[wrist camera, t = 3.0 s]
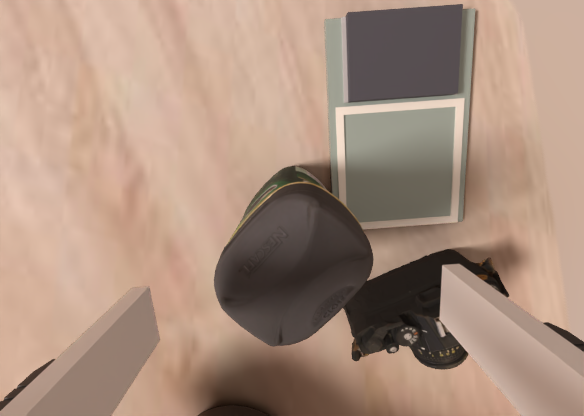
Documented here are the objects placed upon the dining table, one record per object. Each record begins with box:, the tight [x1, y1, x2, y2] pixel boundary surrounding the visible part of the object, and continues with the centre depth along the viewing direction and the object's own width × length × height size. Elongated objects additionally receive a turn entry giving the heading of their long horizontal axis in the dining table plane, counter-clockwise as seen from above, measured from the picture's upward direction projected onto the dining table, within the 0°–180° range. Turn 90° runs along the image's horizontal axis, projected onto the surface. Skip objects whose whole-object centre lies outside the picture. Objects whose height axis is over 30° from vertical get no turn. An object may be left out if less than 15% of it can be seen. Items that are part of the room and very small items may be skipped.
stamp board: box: [324, 9, 475, 229], centre depth 31 cm, size 15×22×1 cm
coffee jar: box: [214, 166, 373, 346], centre depth 24 cm, size 10×8×19 cm
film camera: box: [343, 249, 509, 369], centre depth 31 cm, size 18×12×10 cm
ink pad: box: [341, 4, 463, 103], centre depth 29 cm, size 12×8×1 cm
